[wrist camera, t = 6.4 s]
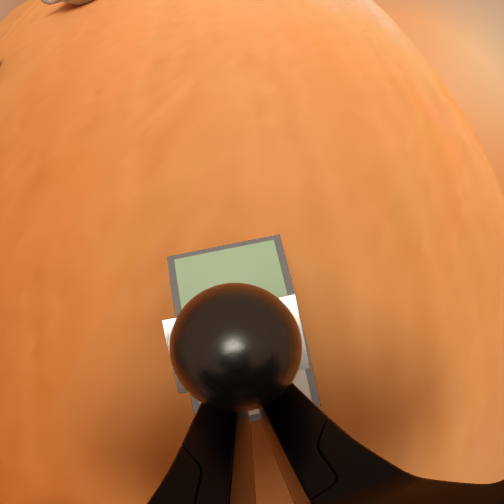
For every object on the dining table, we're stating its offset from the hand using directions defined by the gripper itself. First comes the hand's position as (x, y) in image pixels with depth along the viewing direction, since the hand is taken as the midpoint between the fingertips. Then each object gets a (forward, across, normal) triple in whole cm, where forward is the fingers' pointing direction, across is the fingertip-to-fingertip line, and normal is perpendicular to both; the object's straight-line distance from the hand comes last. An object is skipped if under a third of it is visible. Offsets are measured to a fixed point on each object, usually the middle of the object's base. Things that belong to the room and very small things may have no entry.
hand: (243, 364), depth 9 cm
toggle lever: (+5, 0, +2) cm, 6 cm away
